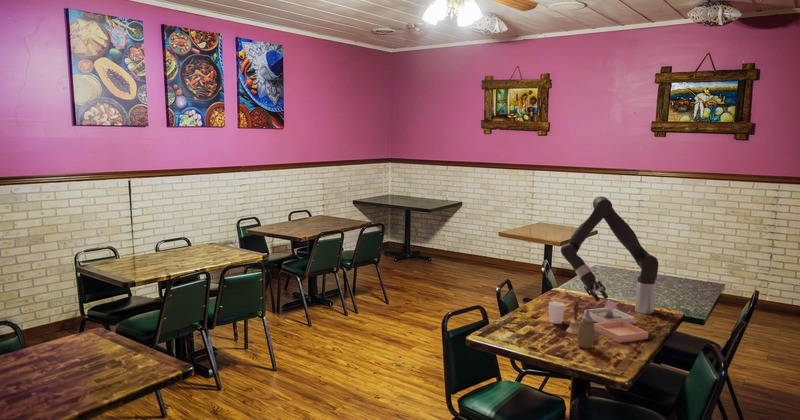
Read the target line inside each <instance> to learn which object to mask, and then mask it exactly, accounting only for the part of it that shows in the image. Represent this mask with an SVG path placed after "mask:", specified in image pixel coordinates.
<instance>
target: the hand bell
mask: <svg viewBox="0 0 800 420" xmlns="http://www.w3.org/2000/svg"><path fill="white" fill-rule="evenodd" d="M579 310H580V304H579V301H578V300H576V301H575V302H574V304H573V313H574V314H573V319H572V320H570V324H569V326H568V327H567V329H566V333H568V334H571V335H577V333H578V328H579V323H580V320H578V314H579Z"/></svg>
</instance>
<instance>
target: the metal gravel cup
mask: <svg viewBox="0 0 800 420" xmlns="http://www.w3.org/2000/svg"><path fill="white" fill-rule="evenodd" d="M604 308H605V317H607V318H613V313H614V309H615V300H614V299H609V298H607V299H605V305H604Z"/></svg>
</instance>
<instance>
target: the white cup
mask: <svg viewBox="0 0 800 420" xmlns="http://www.w3.org/2000/svg"><path fill="white" fill-rule="evenodd" d="M564 311H565V303H564V302H560V301H555V300H554V301H549V302H548V321H549V322H550V323H552V324H558V325H559V324H562V323H563V317H564Z"/></svg>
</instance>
